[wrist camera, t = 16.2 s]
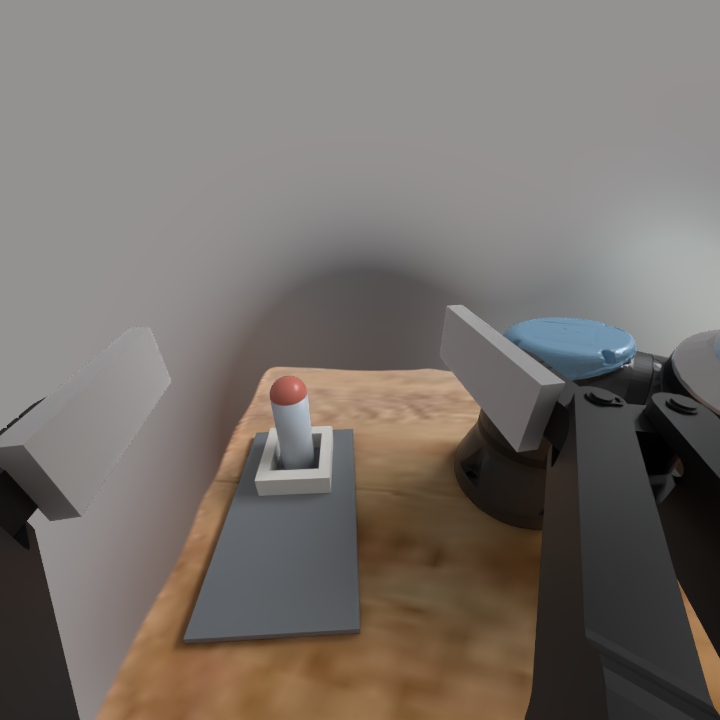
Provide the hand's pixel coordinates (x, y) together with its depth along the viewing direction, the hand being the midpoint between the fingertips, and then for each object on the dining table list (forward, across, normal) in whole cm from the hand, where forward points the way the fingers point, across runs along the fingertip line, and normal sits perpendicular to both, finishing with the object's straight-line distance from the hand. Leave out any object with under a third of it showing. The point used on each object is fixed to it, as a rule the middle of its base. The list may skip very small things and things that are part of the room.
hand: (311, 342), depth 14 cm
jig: (+12, -5, -30) cm, 33 cm away
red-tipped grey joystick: (+18, -4, -29) cm, 34 cm away
